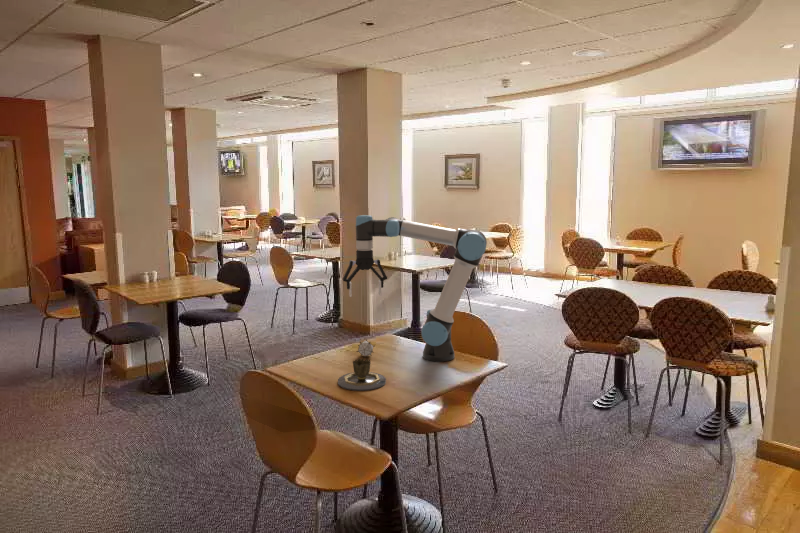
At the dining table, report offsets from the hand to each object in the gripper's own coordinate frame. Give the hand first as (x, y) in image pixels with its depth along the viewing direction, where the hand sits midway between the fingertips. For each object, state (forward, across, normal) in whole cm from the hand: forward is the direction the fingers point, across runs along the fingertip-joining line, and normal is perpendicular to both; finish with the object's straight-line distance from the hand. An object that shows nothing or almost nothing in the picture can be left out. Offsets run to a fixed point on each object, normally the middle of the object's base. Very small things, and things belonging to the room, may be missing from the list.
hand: (365, 295), depth 268 cm
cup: (+30, +6, +27) cm, 41 cm away
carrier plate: (+31, +6, +27) cm, 42 cm away
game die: (+32, -1, -8) cm, 33 cm away
